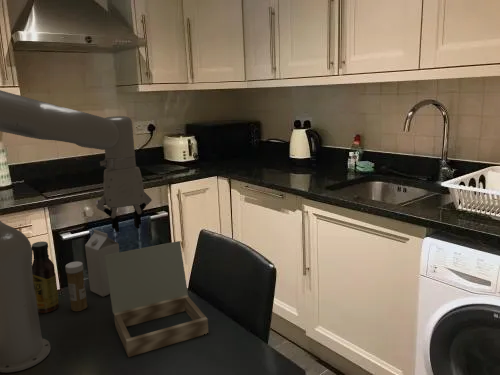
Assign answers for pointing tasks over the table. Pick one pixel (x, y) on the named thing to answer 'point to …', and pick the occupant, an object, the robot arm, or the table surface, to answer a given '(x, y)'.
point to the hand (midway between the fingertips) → (127, 228)
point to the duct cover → (145, 276)
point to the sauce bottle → (44, 278)
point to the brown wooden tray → (164, 335)
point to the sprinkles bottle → (76, 286)
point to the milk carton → (99, 261)
